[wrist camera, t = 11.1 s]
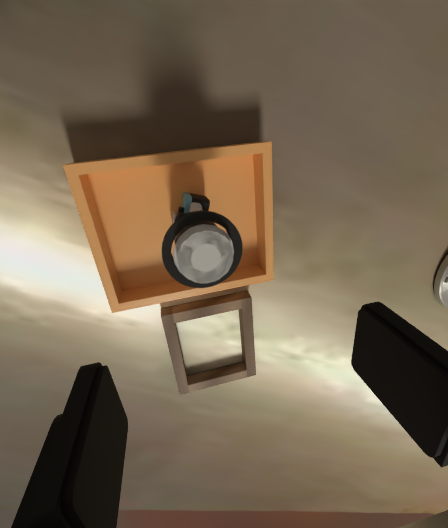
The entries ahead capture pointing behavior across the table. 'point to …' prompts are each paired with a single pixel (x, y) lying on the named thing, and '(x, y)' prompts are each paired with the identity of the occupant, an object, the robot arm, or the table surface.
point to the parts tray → (161, 211)
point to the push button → (200, 244)
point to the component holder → (201, 310)
